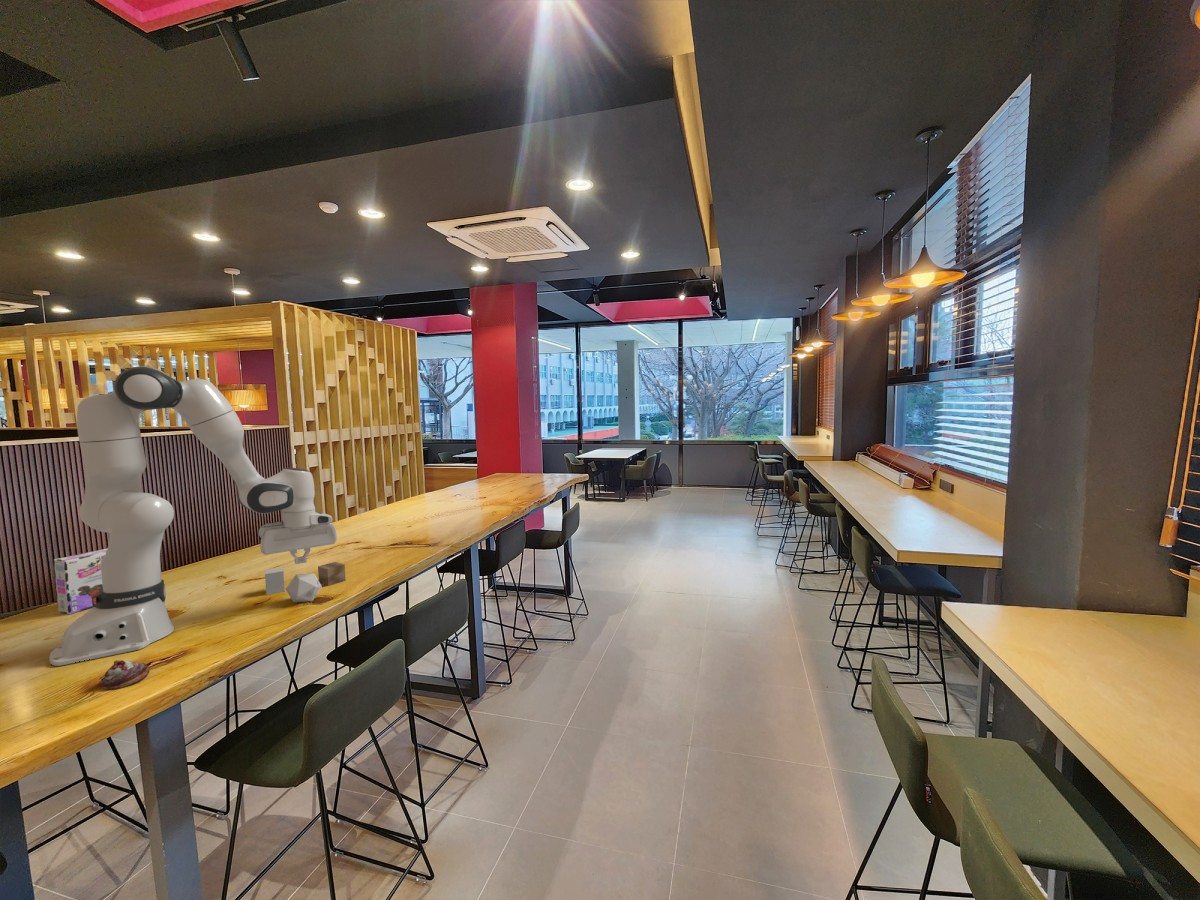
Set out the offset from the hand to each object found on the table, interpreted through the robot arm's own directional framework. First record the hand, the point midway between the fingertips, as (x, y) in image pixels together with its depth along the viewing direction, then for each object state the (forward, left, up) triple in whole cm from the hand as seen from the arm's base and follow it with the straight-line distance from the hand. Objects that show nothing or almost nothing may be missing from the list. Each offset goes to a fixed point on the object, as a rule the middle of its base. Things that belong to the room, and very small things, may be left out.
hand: (300, 563), depth 150 cm
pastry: (-39, -24, -13) cm, 48 cm away
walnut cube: (+11, +12, -12) cm, 21 cm away
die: (+1, 0, -12) cm, 12 cm away
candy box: (-48, +43, -12) cm, 65 cm away
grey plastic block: (-4, +16, -12) cm, 21 cm away
